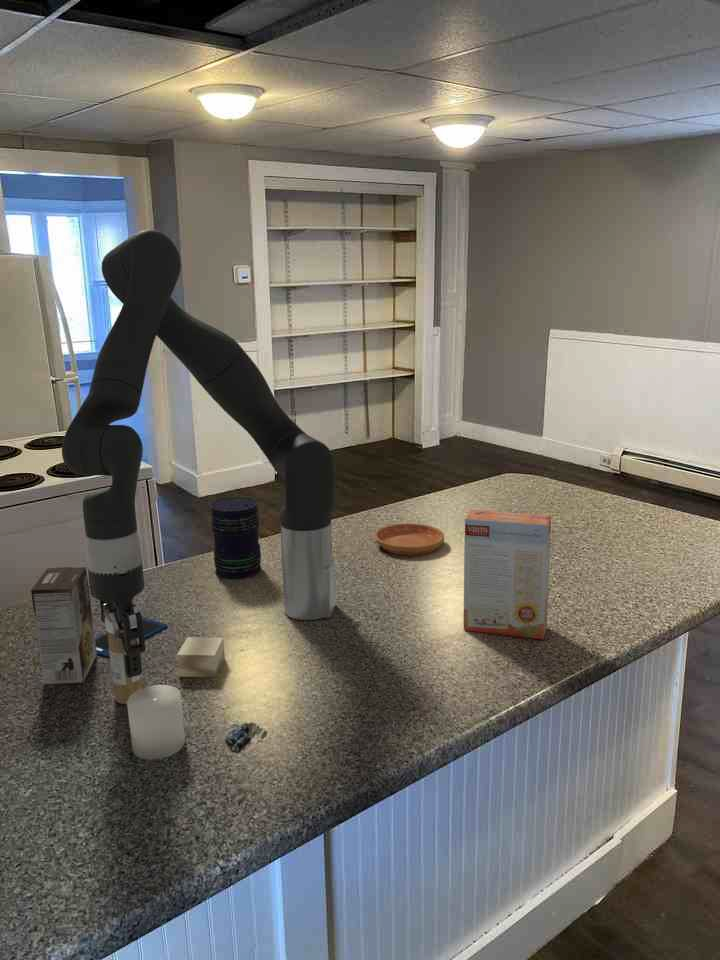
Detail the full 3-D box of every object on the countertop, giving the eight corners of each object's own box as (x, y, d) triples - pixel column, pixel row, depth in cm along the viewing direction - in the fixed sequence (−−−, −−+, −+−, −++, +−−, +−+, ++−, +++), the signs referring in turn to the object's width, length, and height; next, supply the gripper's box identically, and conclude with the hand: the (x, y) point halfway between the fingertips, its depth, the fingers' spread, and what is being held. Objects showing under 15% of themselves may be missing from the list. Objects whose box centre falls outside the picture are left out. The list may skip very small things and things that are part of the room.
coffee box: (58, 657, 131) (46, 567, 127) (98, 655, 131) (87, 565, 127) (42, 685, 122) (28, 589, 118) (84, 683, 123) (72, 587, 118)
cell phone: (79, 650, 134) (79, 646, 134) (141, 619, 145) (141, 615, 145) (109, 660, 130) (108, 656, 130) (170, 628, 142) (169, 624, 141)
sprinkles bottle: (149, 699, 118) (141, 616, 114) (119, 708, 115) (109, 625, 112) (139, 686, 121) (131, 606, 118) (109, 695, 119) (100, 613, 115)
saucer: (456, 542, 182) (456, 529, 182) (423, 563, 170) (423, 550, 169) (396, 530, 191) (396, 519, 190) (361, 551, 178) (361, 538, 177)
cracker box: (547, 626, 139) (552, 514, 133) (543, 641, 133) (549, 525, 128) (469, 616, 143) (471, 507, 138) (462, 630, 138) (464, 517, 132)
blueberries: (269, 726, 111) (268, 714, 110) (264, 761, 103) (263, 748, 103) (221, 728, 111) (220, 716, 110) (212, 763, 103) (211, 750, 102)
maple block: (224, 659, 130) (223, 637, 128) (216, 678, 124) (214, 655, 123) (189, 659, 130) (187, 637, 129) (178, 677, 124) (176, 654, 123)
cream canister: (192, 731, 109) (188, 686, 108) (174, 761, 103) (169, 714, 101) (144, 727, 110) (139, 683, 109) (123, 757, 104) (118, 711, 102)
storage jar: (205, 576, 164) (200, 508, 160) (230, 560, 173) (225, 495, 169) (247, 582, 160) (243, 513, 157) (270, 565, 169) (266, 499, 165)
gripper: (76, 552, 116) (88, 651, 121) (101, 583, 105) (113, 691, 109) (126, 542, 120) (136, 638, 125) (156, 571, 109) (165, 676, 113)
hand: (125, 663), depth 117 cm, fingers open, 8 cm apart
